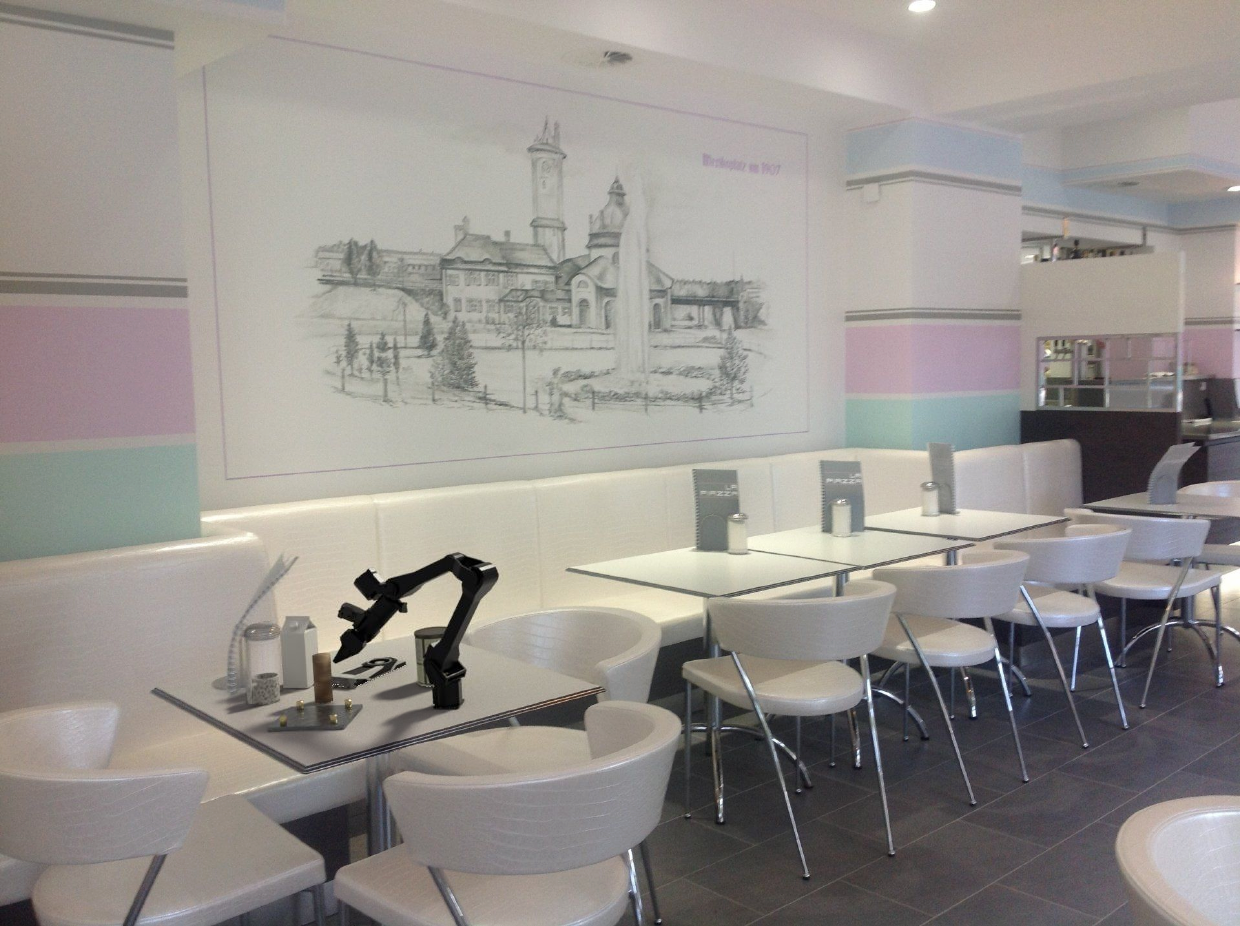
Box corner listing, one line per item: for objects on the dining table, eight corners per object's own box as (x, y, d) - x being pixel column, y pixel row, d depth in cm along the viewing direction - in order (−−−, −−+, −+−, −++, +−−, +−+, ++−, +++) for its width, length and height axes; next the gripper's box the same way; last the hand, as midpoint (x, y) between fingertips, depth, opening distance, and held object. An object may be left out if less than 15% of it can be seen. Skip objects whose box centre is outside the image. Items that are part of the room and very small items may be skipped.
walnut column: (335, 698, 273) (332, 652, 272) (329, 703, 268) (326, 657, 267) (318, 698, 273) (316, 652, 272) (312, 703, 269) (309, 657, 268)
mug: (265, 696, 277) (263, 671, 277) (285, 698, 275) (284, 673, 274) (238, 707, 268) (236, 682, 267) (259, 710, 265) (257, 684, 265)
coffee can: (445, 674, 291) (442, 624, 290) (462, 682, 283) (459, 630, 282) (410, 681, 285) (407, 630, 284) (426, 689, 277) (423, 636, 276)
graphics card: (323, 676, 284) (380, 653, 307) (324, 688, 284) (381, 664, 307) (354, 679, 280) (409, 655, 302) (354, 691, 280) (410, 667, 303)
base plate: (362, 708, 263) (362, 697, 263) (344, 728, 247) (343, 717, 247) (291, 710, 264) (290, 699, 263) (268, 731, 248) (267, 719, 247)
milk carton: (296, 681, 291) (292, 613, 289) (320, 681, 289) (315, 613, 288) (283, 688, 284) (278, 618, 283) (307, 689, 282) (303, 618, 281)
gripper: (365, 585, 278) (326, 627, 279) (346, 599, 259) (304, 645, 260) (396, 613, 278) (357, 656, 279) (380, 630, 260) (337, 675, 261)
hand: (339, 657), depth 270 cm, fingers open, 9 cm apart
